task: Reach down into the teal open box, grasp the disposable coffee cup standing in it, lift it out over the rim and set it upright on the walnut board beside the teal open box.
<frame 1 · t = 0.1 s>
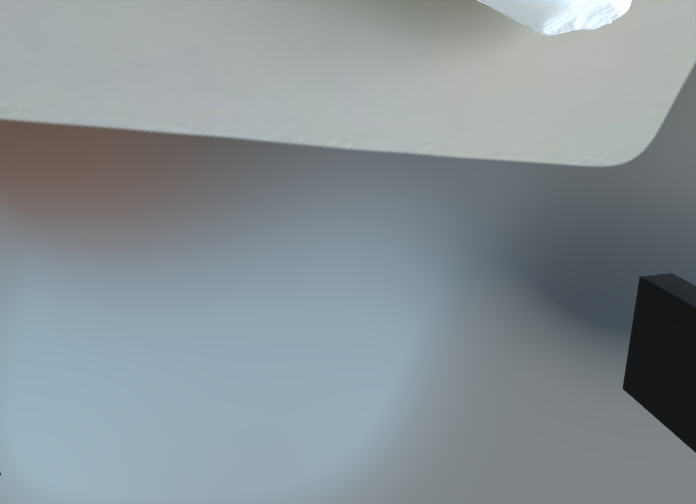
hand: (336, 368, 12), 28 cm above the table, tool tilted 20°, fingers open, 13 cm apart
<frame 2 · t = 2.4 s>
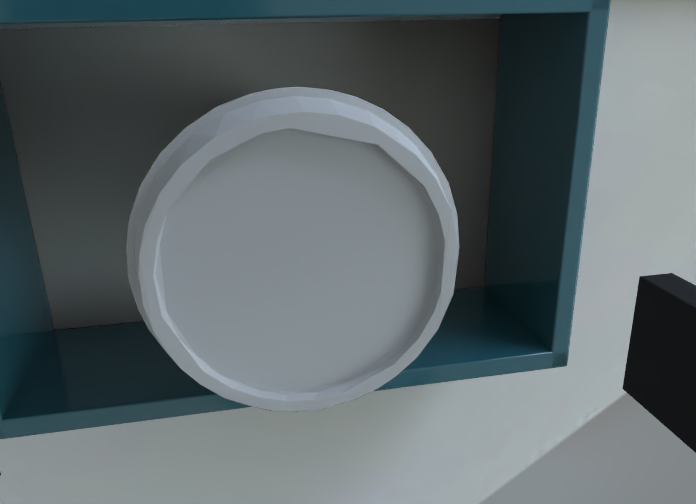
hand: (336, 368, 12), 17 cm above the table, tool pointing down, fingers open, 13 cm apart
disposable coffee cup: (273, 175, 27), resting in teal open box
teal open box: (273, 176, 27), on the table
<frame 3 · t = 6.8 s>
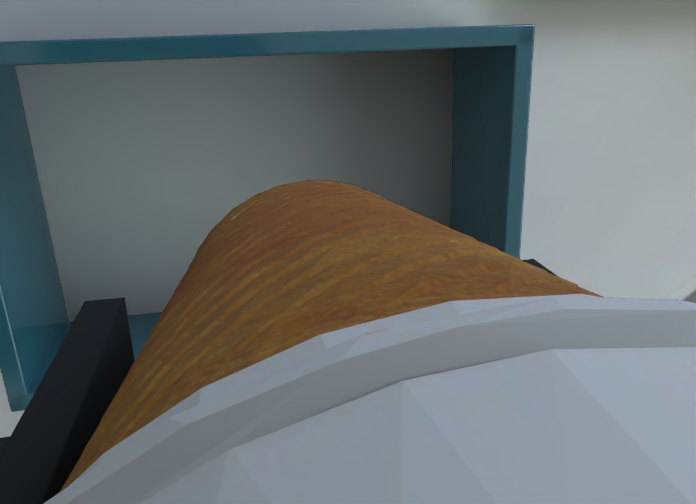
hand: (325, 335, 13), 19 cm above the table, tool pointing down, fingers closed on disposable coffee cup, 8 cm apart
disposable coffee cup: (313, 300, 15), point 17 cm above the table, touching gripper
teal open box: (259, 186, 31), on the table
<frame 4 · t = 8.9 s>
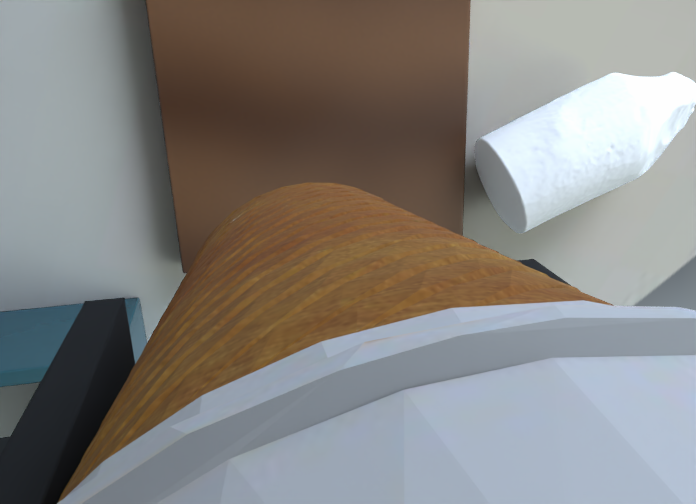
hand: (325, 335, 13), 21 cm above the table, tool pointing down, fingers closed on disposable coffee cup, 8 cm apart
disposable coffee cup: (313, 302, 15), point 19 cm above the table, touching gripper
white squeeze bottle: (566, 132, 36), on the table
board: (317, 112, 32), on the table
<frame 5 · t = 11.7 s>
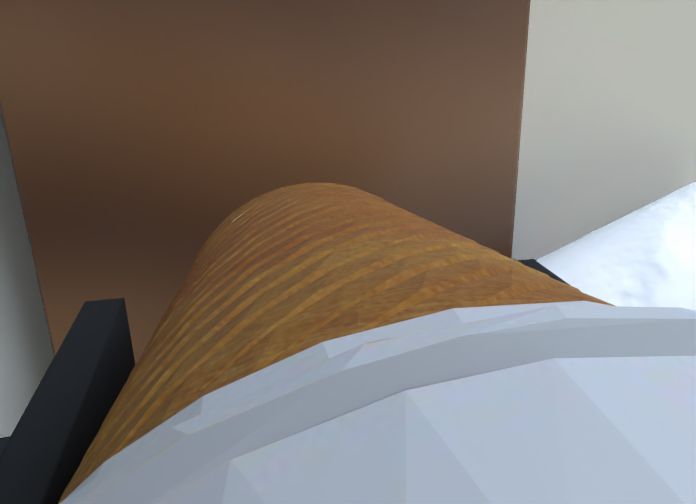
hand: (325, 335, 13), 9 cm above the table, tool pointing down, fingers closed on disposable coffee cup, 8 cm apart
disposable coffee cup: (313, 302, 15), point 7 cm above the table, touching gripper
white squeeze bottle: (651, 239, 25), on the table
board: (286, 222, 21), on the table
when the fingers open (3 cm above the table, at t = 13.5 s): disposable coffee cup stays where it is, resting on board.
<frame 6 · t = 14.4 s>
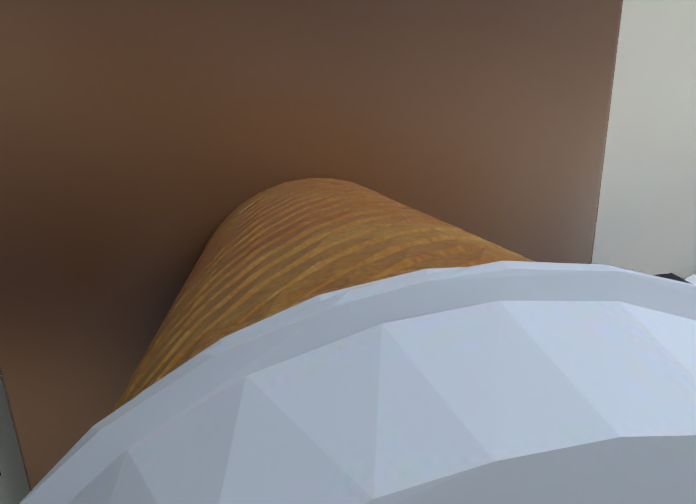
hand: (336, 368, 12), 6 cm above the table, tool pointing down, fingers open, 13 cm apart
disposable coffee cup: (314, 291, 16), point 1 cm above the table, touching board
board: (308, 270, 17), on the table
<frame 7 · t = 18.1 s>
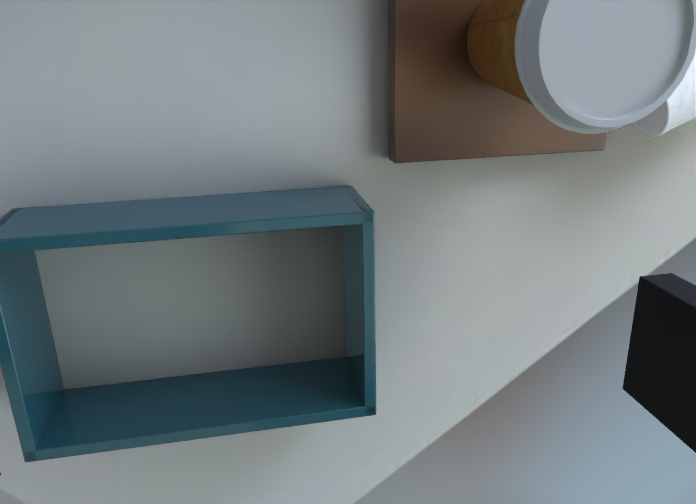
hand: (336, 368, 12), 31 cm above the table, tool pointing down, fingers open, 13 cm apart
disposable coffee cup: (509, 38, 40), point 1 cm above the table, touching board
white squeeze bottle: (686, 61, 44), on the table
teal open box: (201, 294, 43), on the table
board: (500, 37, 41), on the table
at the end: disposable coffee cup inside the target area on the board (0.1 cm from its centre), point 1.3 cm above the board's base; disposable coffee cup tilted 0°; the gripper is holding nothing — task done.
